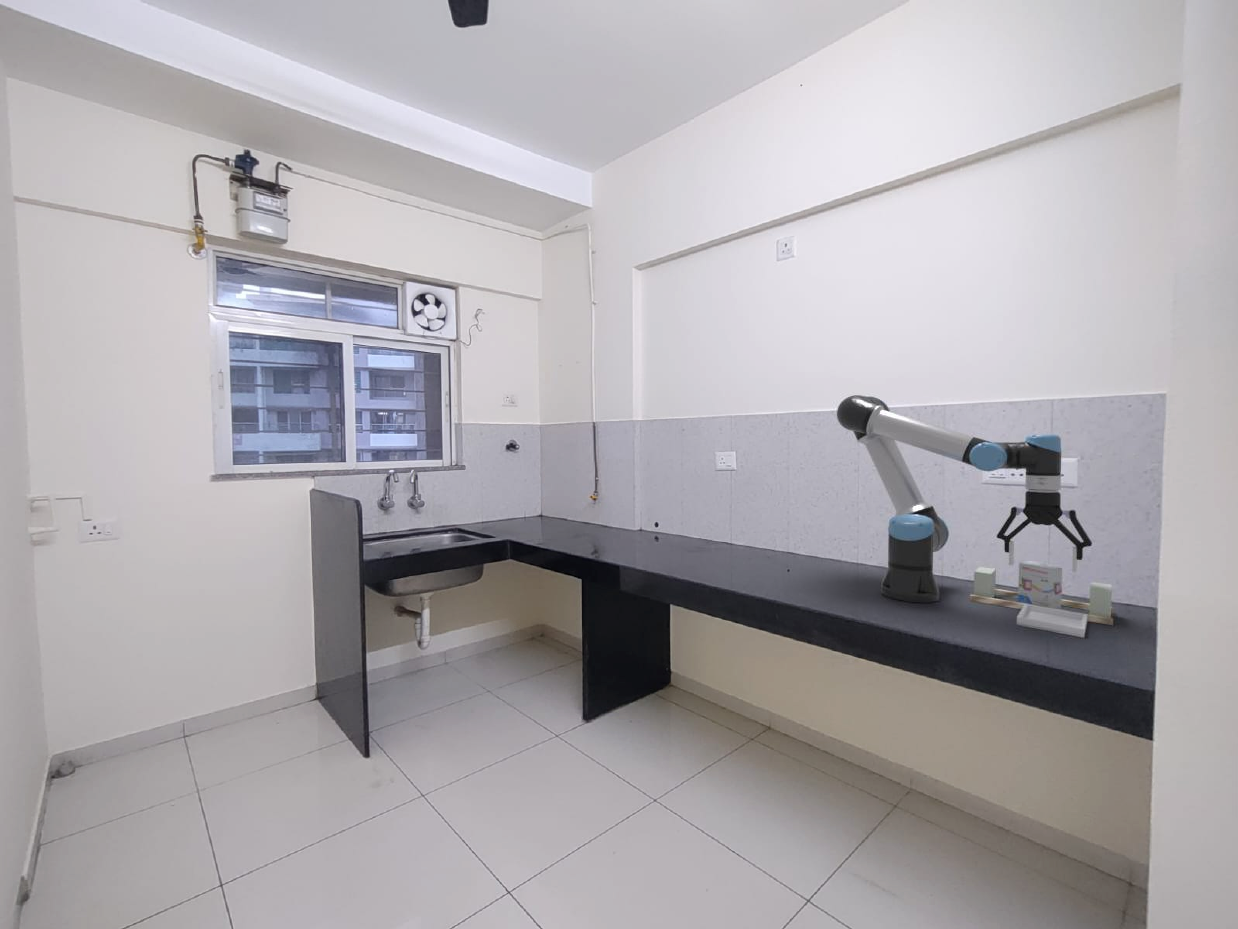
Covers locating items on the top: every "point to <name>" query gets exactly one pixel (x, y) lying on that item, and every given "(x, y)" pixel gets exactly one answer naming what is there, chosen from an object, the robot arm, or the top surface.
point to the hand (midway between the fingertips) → (1041, 568)
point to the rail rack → (1020, 605)
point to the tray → (1053, 620)
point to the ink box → (1040, 584)
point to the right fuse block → (1100, 599)
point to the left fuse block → (985, 582)
